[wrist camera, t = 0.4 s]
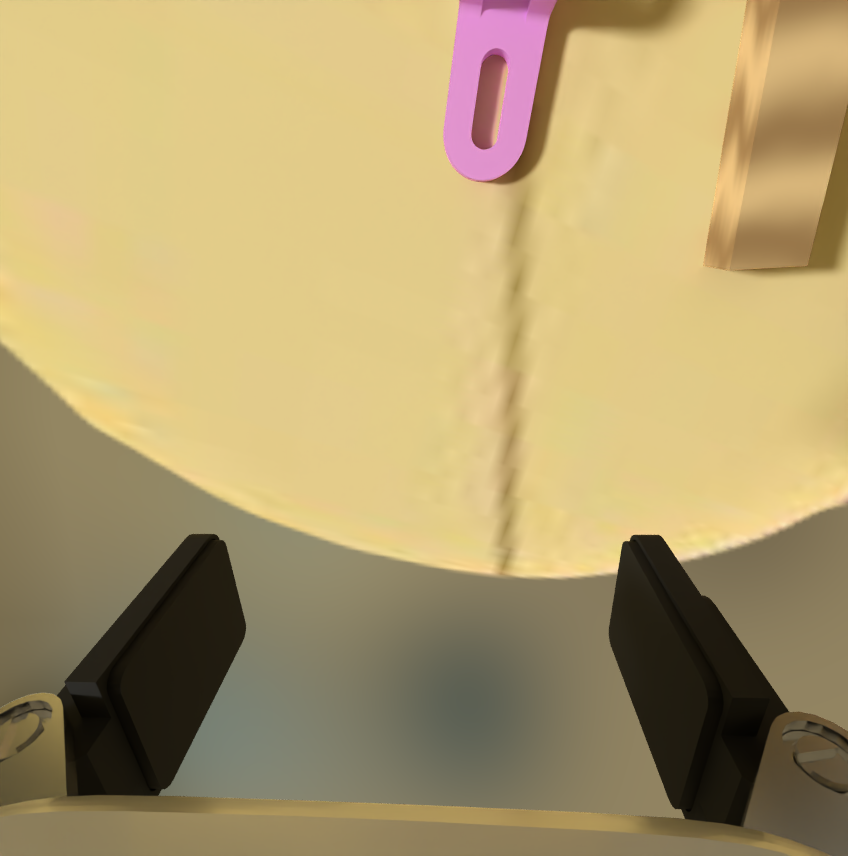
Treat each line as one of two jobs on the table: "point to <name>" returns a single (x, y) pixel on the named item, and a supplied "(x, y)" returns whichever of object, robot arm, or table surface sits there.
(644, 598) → the robot arm
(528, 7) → the bracket
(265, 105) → the table surface
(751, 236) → the plank
